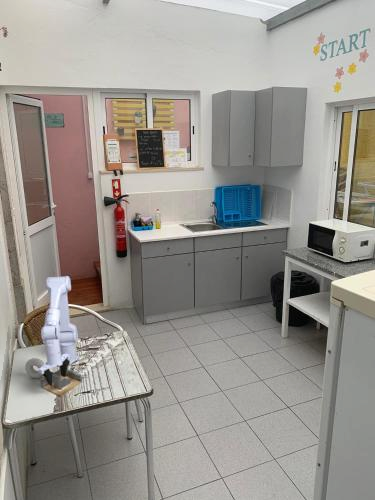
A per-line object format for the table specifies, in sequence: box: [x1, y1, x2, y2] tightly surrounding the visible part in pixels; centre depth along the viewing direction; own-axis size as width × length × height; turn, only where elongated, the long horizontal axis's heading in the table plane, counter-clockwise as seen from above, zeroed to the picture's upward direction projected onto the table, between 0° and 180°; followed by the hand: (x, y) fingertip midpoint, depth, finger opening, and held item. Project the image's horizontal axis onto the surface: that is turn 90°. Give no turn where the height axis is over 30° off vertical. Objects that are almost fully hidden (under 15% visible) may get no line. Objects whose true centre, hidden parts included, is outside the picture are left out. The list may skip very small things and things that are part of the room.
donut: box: [24, 357, 46, 379], centre depth 173 cm, size 10×4×10 cm, turn 81°
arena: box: [40, 368, 83, 397], centre depth 168 cm, size 12×12×4 cm
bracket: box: [52, 374, 71, 390], centre depth 166 cm, size 6×4×6 cm, turn 147°
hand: (57, 380), depth 164 cm, fingers open, 6 cm apart
